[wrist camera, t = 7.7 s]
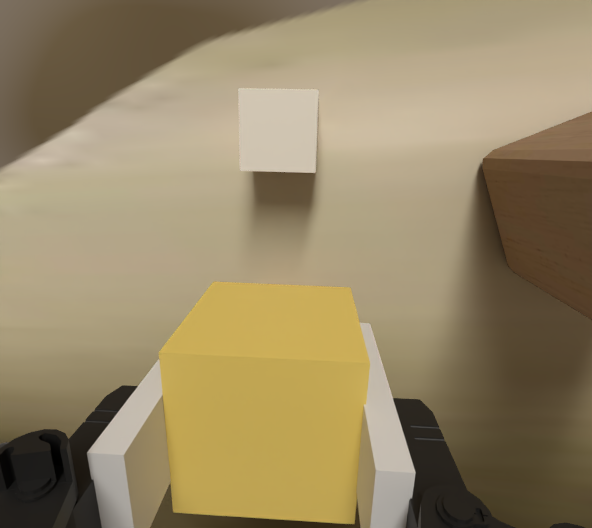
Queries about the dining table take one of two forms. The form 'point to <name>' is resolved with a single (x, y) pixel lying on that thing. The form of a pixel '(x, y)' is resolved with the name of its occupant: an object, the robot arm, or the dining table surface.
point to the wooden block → (547, 209)
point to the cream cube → (278, 129)
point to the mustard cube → (266, 403)
